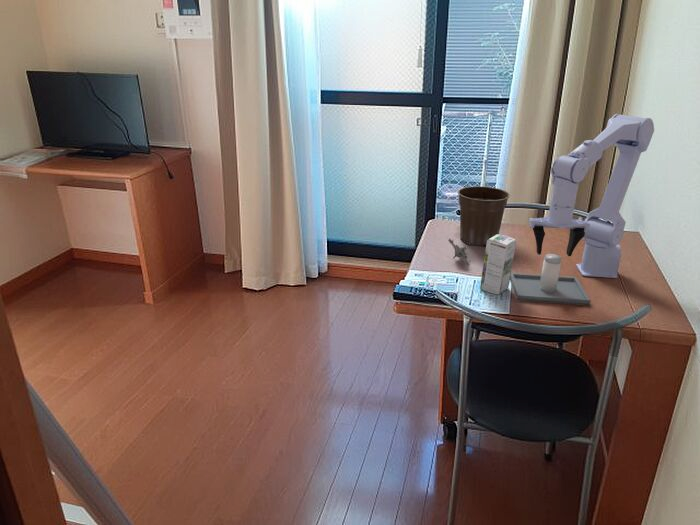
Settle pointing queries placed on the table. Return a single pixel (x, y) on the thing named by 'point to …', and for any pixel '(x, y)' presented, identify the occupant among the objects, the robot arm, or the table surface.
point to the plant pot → (481, 213)
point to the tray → (564, 294)
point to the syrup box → (497, 264)
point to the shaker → (550, 273)
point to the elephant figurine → (459, 251)
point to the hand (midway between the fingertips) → (553, 253)
